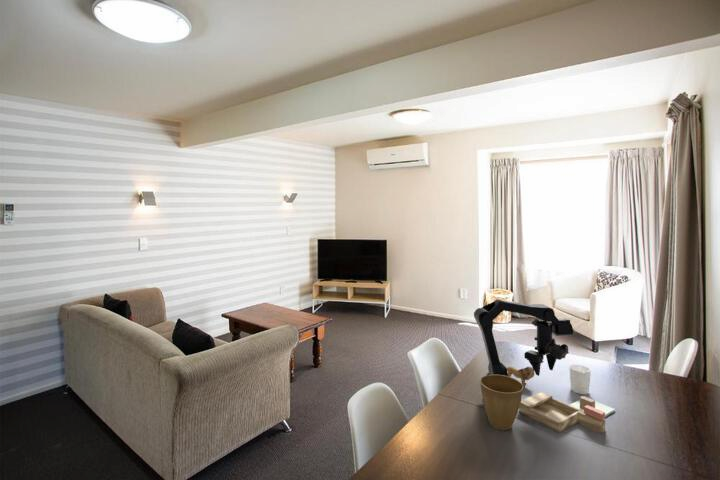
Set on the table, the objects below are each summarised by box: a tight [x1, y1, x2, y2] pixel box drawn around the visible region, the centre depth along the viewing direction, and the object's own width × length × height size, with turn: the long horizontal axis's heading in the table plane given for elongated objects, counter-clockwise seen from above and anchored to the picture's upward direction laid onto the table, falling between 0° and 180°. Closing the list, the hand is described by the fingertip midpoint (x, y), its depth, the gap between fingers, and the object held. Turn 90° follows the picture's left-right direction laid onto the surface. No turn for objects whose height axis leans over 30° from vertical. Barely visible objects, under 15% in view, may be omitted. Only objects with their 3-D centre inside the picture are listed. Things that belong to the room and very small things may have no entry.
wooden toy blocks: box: [518, 391, 606, 434], centre depth 133 cm, size 15×24×4 cm, turn 30°
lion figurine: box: [506, 366, 536, 388], centre depth 165 cm, size 15×5×9 cm, turn 49°
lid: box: [569, 395, 616, 418], centre depth 140 cm, size 15×11×6 cm
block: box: [584, 405, 606, 421], centre depth 128 cm, size 2×6×2 cm, turn 30°
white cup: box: [569, 364, 591, 395], centre depth 156 cm, size 8×8×10 cm
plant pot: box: [479, 374, 524, 431], centre depth 132 cm, size 15×15×16 cm
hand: (544, 372), depth 148 cm, fingers open, 9 cm apart
